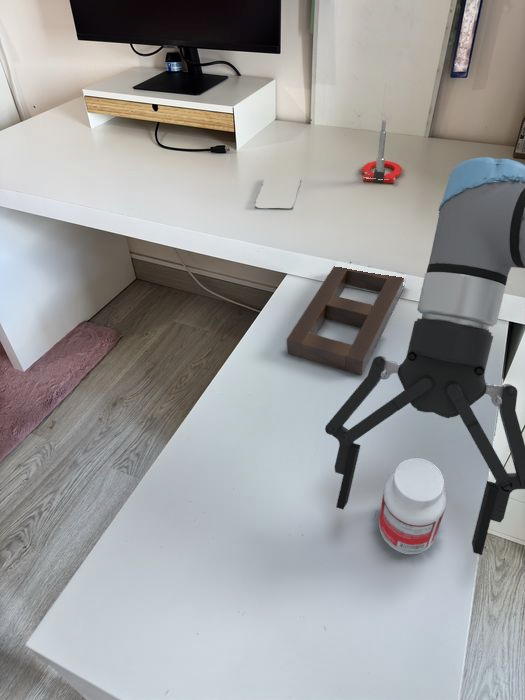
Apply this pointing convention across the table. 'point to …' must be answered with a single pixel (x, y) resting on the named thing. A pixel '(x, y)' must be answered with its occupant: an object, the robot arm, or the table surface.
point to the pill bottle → (412, 506)
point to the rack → (345, 319)
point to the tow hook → (381, 163)
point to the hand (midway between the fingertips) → (406, 526)
